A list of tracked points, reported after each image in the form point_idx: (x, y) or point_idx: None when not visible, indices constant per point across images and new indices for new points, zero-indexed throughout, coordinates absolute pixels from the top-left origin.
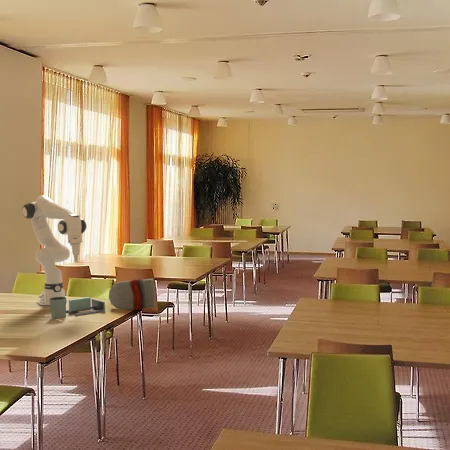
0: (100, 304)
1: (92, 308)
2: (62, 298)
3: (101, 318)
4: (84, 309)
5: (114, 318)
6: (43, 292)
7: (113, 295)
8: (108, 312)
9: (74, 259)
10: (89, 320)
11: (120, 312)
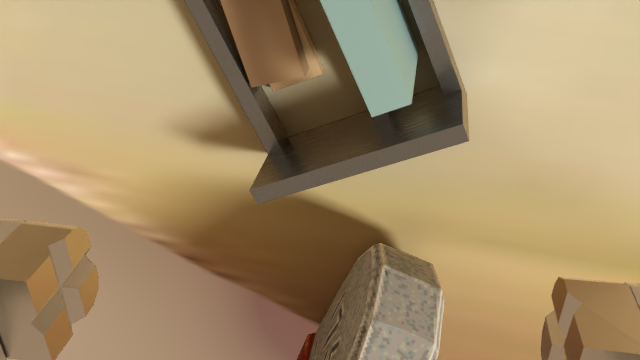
0: (299, 161)
1: None
2: None
3: (75, 98)
4: None
5: (65, 174)
6: None
7: (356, 307)
8: None
9: (570, 314)
10: (12, 4)
11: (259, 245)
